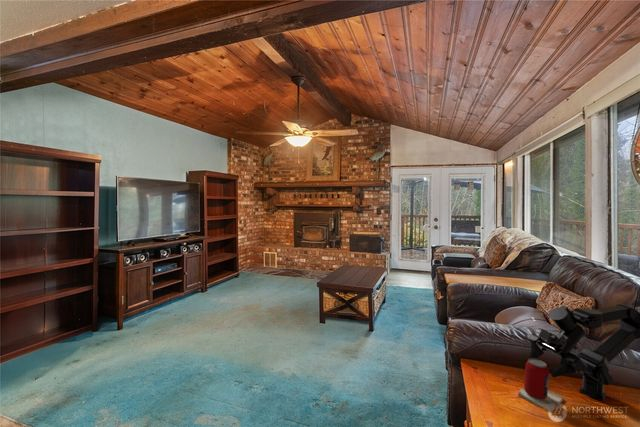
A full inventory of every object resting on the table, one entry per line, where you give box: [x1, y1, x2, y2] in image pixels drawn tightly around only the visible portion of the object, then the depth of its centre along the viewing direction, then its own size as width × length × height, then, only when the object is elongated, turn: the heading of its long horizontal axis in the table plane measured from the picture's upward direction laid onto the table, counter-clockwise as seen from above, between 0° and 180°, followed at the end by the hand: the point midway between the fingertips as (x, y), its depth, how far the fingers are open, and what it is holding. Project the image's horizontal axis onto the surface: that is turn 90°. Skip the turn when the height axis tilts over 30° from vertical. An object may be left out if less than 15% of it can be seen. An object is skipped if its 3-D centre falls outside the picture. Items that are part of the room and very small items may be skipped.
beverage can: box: [523, 358, 550, 399], centre depth 105 cm, size 7×7×12 cm
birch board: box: [517, 387, 564, 413], centre depth 105 cm, size 12×10×1 cm
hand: (540, 368), depth 105 cm, fingers open, 9 cm apart
